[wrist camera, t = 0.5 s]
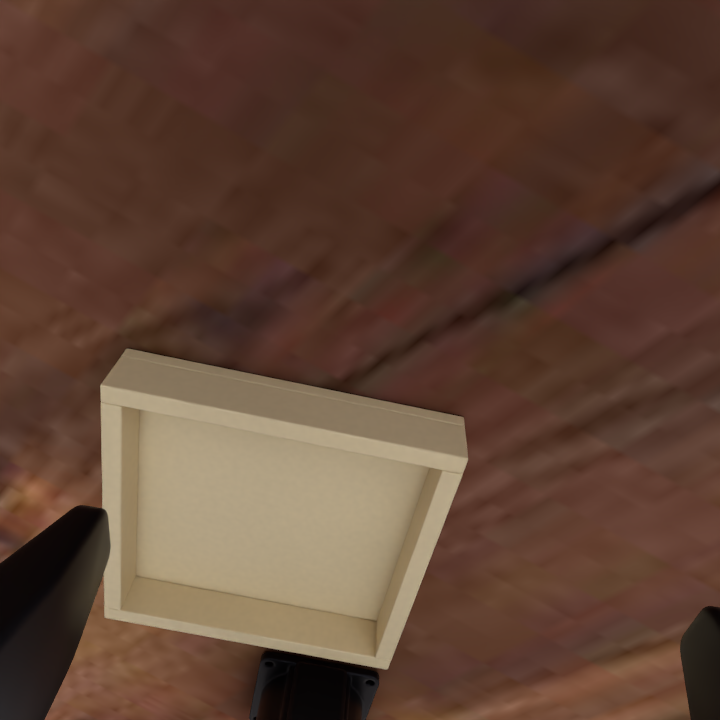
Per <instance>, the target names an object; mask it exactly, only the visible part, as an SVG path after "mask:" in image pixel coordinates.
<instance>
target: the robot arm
mask: <svg viewBox="0 0 720 720" xmlns="http://www.w3.org/2000/svg"><path fill="white" fill-rule="evenodd" d="M110 549H111V542H110V532H109V521H108V514H107V512H106V510H105V509H102V508H97V507H91V506H85V505H79V506H76V507H74V508H73V509H71V510H70V511H69V512H67V513H66V514H65V515H63V516H62V517H61V518H59V519H58V520H57V521H56V522H54V523H53V524H52V525H50V526H49V527H48V528H46V529H45V530H44V531H42V532H41V533H40V534H38V535H37V536H36V537H34V538H33V539H32V540H30V541H29V542H28V543H27V544H25V545H24V546H23V547H21V548H20V549H19V550H17V551H16V552H15V553H13V554H12V555H11V556H9V557H8V558H7V559H5V560H4V561H3V562H2V563H0V720H44V719H45V717H46V715H47V713H48V711H49V709H50V707H51V705H52V703H53V701H54V699H55V697H56V694H57V692H58V690H59V688H60V686H61V684H62V682H63V680H64V678H65V676H66V674H67V671H68V669H69V667H70V665H71V662H72V660H73V658H74V655H75V652H76V650H77V647H78V644H79V641H80V639H81V636H82V633H83V630H84V627H85V625H86V622H87V619H88V616H89V613H90V610H91V608H92V605H93V602H94V599H95V596H96V594H97V591H98V588H99V585H100V582H101V579H102V577H103V574H104V571H105V568H106V565H107V562H108V559H109V555H110ZM680 653H681V660H682V666H683V672H684V679H685V685H686V691H687V698H688V704H689V710H690V716H691V720H720V608H719V607H713V606H708V607H705V608H703V609H702V610H701V612H700V613H699V614H698V616H697V617H696V618H695V620H694V621H693V622H692V624H691V625H690V627H689V628H688V629H687V631H686V632H685V633H684V635H683V637H682V640H681V645H680ZM378 685H379V674H378V673H377V672H375V671H371V670H366V669H361V668H355V667H350V666H344V665H339V664H333V663H328V662H322V661H317V660H312V659H306V658H301V657H295V656H290V655H284V654H279V653H273V652H266V653H264V654H263V655H262V657H261V662H260V667H259V671H258V676H257V681H256V686H255V691H254V696H253V701H252V706H251V711H250V716H249V719H250V720H366V717H367V714H368V712H369V709H370V706H371V704H372V701H373V699H374V696H375V693H376V691H377V688H378Z"/></svg>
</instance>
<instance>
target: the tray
mask: <svg viewBox="0 0 720 720" xmlns="http://www.w3.org/2000/svg"><path fill="white" fill-rule="evenodd" d="M100 392H101V449H102V506H103V509H105V510H106V512H107V514H108V521H109V532H110V542H111V549H110V555H109V559H108V562H107V565H106V568H105V571H104V617H105V618H109V619H114V620H119V621H125V622H130V623H136V624H141V625H147V626H152V627H158V628H163V629H168V630H174V631H179V632H185V633H190V634H196V635H201V636H206V637H212V638H217V639H223V640H228V641H234V642H239V643H245V644H250V645H255V646H261V647H266V648H272V649H277V650H283V651H288V652H293V653H299V654H304V655H310V656H315V657H321V658H326V659H331V660H337V661H342V662H348V663H353V664H359V665H364V666H370V667H375V668H380V669H386V670H387V669H388V667H389V664H390V662H391V659H392V657H393V654H394V652H395V649H396V647H397V644H398V641H399V639H400V636H401V634H402V631H403V628H404V626H405V623H406V621H407V618H408V615H409V613H410V610H411V608H412V605H413V602H414V600H415V597H416V595H417V592H418V589H419V587H420V584H421V582H422V579H423V576H424V574H425V571H426V569H427V566H428V563H429V561H430V558H431V556H432V553H433V550H434V548H435V545H436V543H437V540H438V538H439V535H440V532H441V530H442V527H443V525H444V522H445V519H446V517H447V514H448V512H449V509H450V506H451V504H452V501H453V499H454V496H455V493H456V491H457V488H458V486H459V483H460V480H461V478H462V473H463V472H464V469H465V467H466V464H467V462H468V452H467V443H466V434H465V424H464V418H463V417H461V416H456V415H451V414H446V413H441V412H436V411H431V410H426V409H421V408H416V407H412V406H407V405H402V404H397V403H392V402H387V401H382V400H377V399H372V398H368V397H363V396H358V395H353V394H348V393H343V392H338V391H333V390H328V389H324V388H319V387H314V386H309V385H304V384H299V383H294V382H289V381H284V380H280V379H275V378H270V377H265V376H260V375H255V374H250V373H245V372H240V371H236V370H231V369H226V368H221V367H216V366H211V365H206V364H201V363H196V362H192V361H187V360H182V359H177V358H172V357H167V356H162V355H157V354H152V353H148V352H143V351H138V350H133V349H126V350H125V351H124V353H123V354H122V356H121V357H120V358H119V360H118V361H117V363H116V364H115V365H114V367H113V368H112V370H111V371H110V372H109V374H108V375H107V377H106V378H105V379H104V381H103V382H102V384H101V385H100Z"/></svg>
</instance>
